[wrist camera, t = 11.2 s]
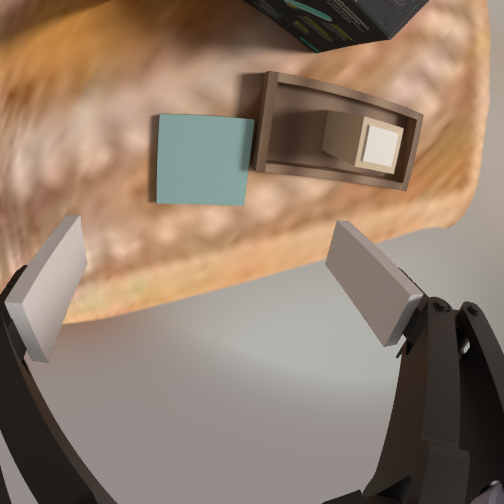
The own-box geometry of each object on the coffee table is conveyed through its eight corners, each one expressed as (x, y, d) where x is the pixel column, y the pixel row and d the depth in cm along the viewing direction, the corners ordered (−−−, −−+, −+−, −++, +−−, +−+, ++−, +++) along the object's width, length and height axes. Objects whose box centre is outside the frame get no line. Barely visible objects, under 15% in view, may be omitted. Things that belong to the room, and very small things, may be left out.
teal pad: (157, 200, 32) (156, 203, 31) (161, 113, 27) (159, 114, 27) (242, 202, 34) (243, 205, 34) (252, 119, 30) (254, 119, 29)
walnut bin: (251, 166, 32) (255, 171, 30) (263, 72, 27) (269, 71, 25) (395, 185, 37) (406, 191, 35) (411, 112, 32) (423, 114, 30)
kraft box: (321, 150, 32) (355, 167, 25) (328, 109, 30) (365, 116, 23) (356, 156, 34) (394, 174, 27) (363, 118, 31) (404, 128, 24)
